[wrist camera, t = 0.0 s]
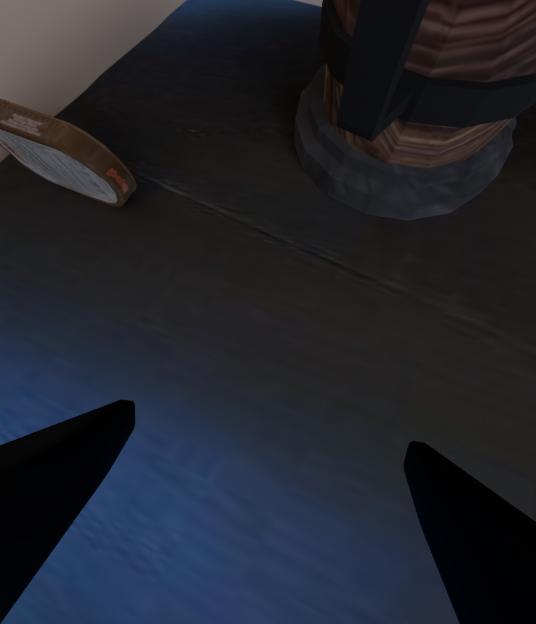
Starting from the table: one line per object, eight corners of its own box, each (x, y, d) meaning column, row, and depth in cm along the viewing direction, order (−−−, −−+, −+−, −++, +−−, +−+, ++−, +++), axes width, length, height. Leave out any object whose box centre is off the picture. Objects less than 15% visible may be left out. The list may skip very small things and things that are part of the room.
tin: (150, 200, 30) (106, 128, 22) (135, 221, 30) (84, 154, 22) (46, 161, 33) (-27, 83, 25) (29, 180, 32) (-52, 105, 24)
